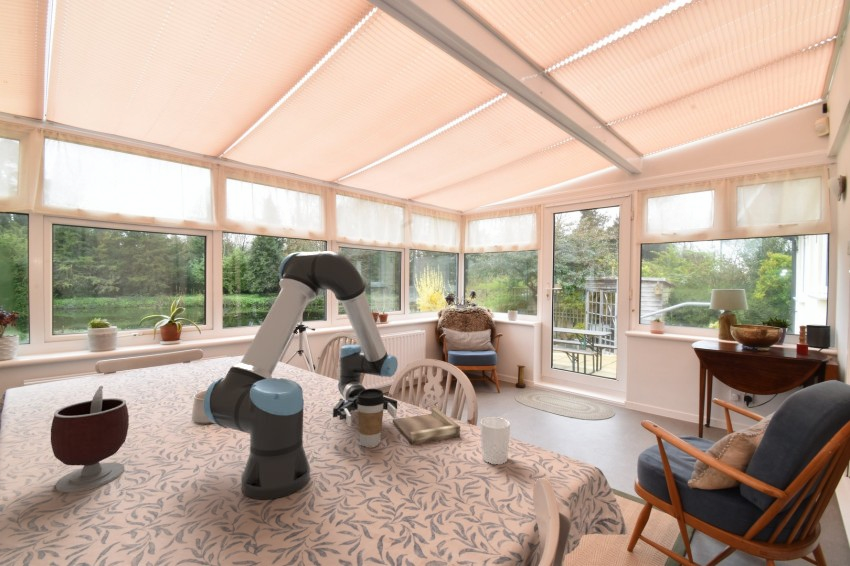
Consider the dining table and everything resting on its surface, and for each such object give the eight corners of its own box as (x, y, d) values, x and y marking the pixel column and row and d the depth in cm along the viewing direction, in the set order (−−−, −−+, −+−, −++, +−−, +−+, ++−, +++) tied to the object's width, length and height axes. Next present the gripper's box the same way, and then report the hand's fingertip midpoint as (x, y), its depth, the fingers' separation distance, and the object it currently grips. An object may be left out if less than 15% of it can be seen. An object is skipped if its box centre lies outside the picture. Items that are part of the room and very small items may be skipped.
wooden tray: (412, 445, 108) (412, 434, 108) (392, 422, 125) (392, 413, 125) (460, 436, 115) (460, 426, 115) (435, 416, 131) (435, 407, 131)
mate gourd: (122, 484, 86) (122, 398, 86) (39, 501, 79) (39, 408, 79) (134, 456, 100) (134, 382, 100) (65, 468, 93) (65, 389, 93)
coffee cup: (386, 437, 113) (387, 388, 113) (380, 450, 105) (381, 397, 105) (360, 436, 114) (360, 387, 114) (352, 448, 106) (352, 396, 106)
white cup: (512, 466, 97) (512, 428, 97) (482, 465, 97) (482, 427, 97) (506, 452, 105) (506, 417, 105) (478, 451, 105) (478, 416, 105)
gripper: (390, 402, 132) (412, 423, 112) (318, 411, 122) (329, 436, 103) (391, 381, 132) (413, 399, 112) (319, 388, 122) (329, 409, 102)
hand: (373, 417), depth 107 cm, fingers open, 13 cm apart
